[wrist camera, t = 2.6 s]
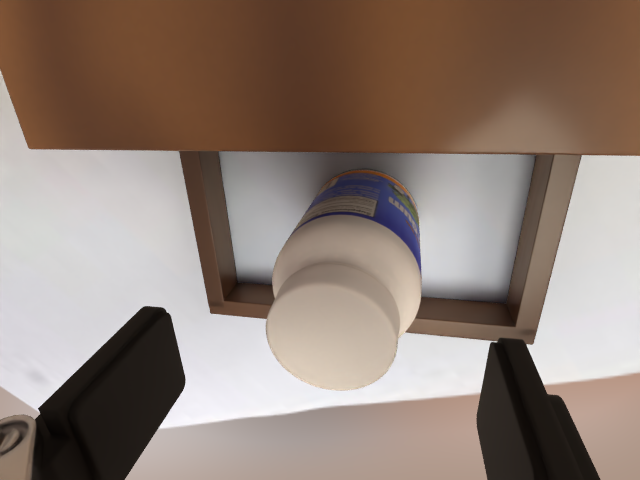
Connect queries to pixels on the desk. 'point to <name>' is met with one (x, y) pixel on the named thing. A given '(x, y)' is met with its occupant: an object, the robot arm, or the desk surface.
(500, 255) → the desk surface
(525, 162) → the desk surface
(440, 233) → the desk surface
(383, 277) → the pill bottle
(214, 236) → the step shelf
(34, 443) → the robot arm
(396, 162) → the desk surface
